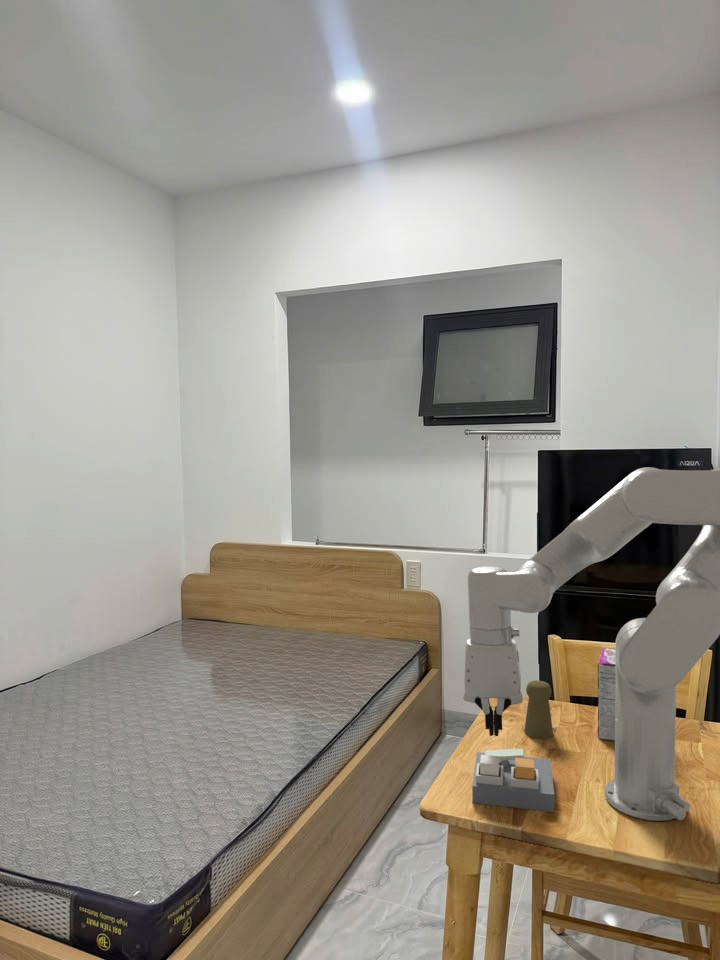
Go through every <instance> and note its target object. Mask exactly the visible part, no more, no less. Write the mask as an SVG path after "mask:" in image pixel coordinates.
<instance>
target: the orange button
mask: <svg viewBox="0 0 720 960" xmlns="http://www.w3.org/2000/svg"><path fill="white" fill-rule="evenodd" d="M515 778H524V779H534V760H533V759H522V758H515Z"/></svg>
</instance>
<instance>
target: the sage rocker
mask: <svg viewBox="0 0 720 960" xmlns="http://www.w3.org/2000/svg"><path fill="white" fill-rule="evenodd" d="M484 753H485V755H490V756H499V761H506V760H515V758H522V759H524V757H525V750H524V748H507V749H491V750H489V749H488V750H485V751H484Z"/></svg>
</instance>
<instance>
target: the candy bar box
mask: <svg viewBox="0 0 720 960" xmlns="http://www.w3.org/2000/svg"><path fill="white" fill-rule="evenodd" d="M615 706H616V662H615V648H607V647H603V648H602V649H601V652H600V655H599V659H598V662H597V738H598V739H599V740H603V741H610V742H611V741H612V742H615Z"/></svg>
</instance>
